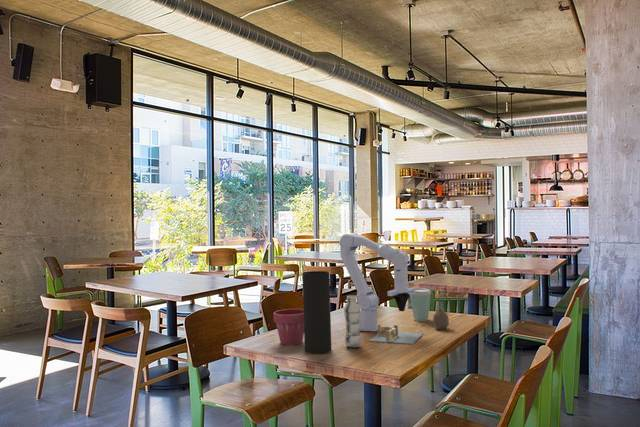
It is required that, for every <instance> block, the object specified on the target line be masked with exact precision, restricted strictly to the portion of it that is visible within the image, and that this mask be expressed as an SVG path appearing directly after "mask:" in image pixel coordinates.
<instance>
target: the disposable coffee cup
mask: <svg viewBox="0 0 640 427" xmlns="http://www.w3.org/2000/svg"><path fill="white" fill-rule="evenodd" d="M414 288H415V293H408V294H409V299H410V304H411V309H412V315H413V319H414V321H417V322H425V321H428V319H429V314H430V305H431V304H430V303H431V295H432V290H430V289H428V288H425V287H414Z"/></svg>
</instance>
